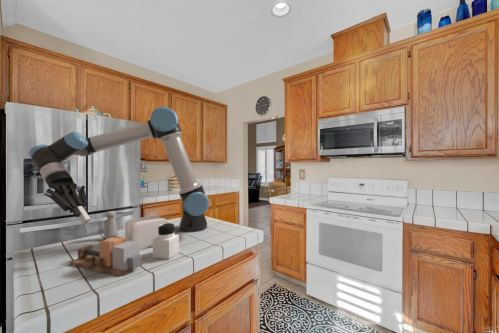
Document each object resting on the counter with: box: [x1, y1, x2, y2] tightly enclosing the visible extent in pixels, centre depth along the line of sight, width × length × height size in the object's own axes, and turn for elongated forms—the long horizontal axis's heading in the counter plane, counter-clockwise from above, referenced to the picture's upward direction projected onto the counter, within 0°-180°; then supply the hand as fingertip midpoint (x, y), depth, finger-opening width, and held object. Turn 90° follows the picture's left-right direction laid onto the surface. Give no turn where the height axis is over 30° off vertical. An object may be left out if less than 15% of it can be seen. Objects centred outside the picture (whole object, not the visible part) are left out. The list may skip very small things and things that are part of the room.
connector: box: [113, 241, 142, 271], centre depth 71 cm, size 7×6×7 cm
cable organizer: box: [124, 214, 168, 251], centre depth 94 cm, size 15×11×12 cm
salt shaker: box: [103, 210, 119, 240], centre depth 102 cm, size 6×6×13 cm
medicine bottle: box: [152, 222, 180, 260], centre depth 83 cm, size 7×7×12 cm
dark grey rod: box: [84, 249, 100, 257], centre depth 76 cm, size 19×2×2 cm, turn 70°
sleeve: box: [98, 235, 126, 266], centre depth 74 cm, size 5×6×8 cm
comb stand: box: [69, 245, 144, 277], centre depth 75 cm, size 24×9×5 cm, turn 70°
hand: (86, 221), depth 78 cm, fingers closed
